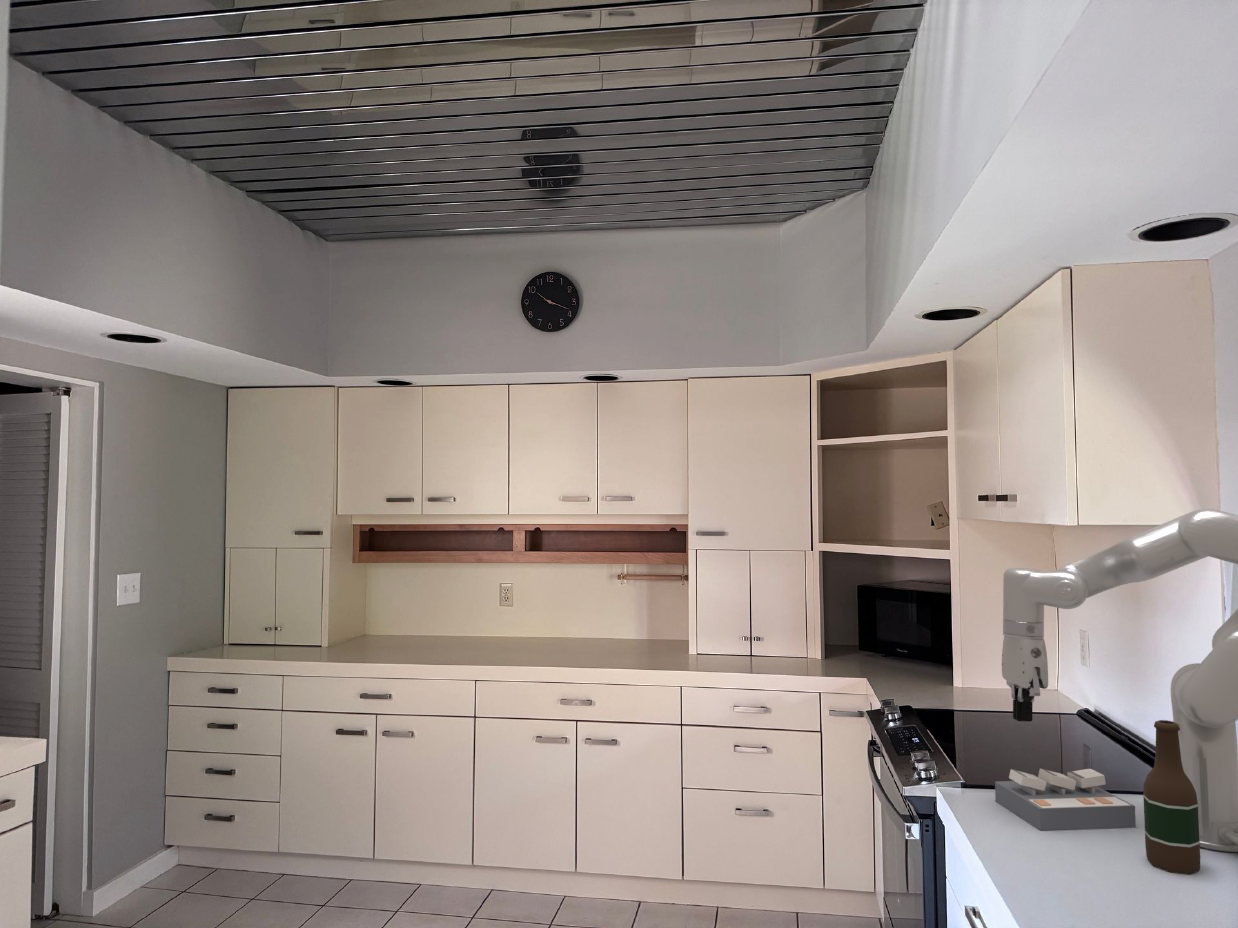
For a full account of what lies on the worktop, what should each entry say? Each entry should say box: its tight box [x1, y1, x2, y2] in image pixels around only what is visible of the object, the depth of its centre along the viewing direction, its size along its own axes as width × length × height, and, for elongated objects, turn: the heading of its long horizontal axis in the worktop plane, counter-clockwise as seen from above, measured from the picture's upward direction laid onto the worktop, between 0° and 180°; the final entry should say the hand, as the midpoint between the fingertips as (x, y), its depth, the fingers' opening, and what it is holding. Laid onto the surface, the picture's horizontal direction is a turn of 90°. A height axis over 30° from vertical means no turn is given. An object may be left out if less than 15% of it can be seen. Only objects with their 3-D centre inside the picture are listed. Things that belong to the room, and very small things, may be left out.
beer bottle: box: [1143, 719, 1201, 875], centre depth 140 cm, size 8×8×24 cm
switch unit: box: [994, 780, 1137, 831], centre depth 164 cm, size 16×19×5 cm
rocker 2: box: [1066, 768, 1107, 788], centre depth 166 cm, size 4×5×2 cm
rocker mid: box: [1037, 768, 1076, 790], centre depth 165 cm, size 4×5×2 cm
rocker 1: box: [1008, 769, 1046, 791], centre depth 165 cm, size 4×5×2 cm
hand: (1022, 719), depth 166 cm, fingers closed
